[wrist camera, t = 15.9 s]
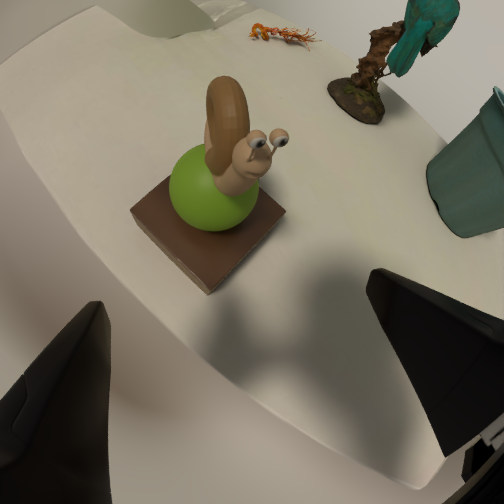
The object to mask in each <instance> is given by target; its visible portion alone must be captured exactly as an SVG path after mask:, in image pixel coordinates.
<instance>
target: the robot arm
mask: <svg viewBox="0 0 504 504" xmlns="http://www.w3.org/2000/svg"><path fill="white" fill-rule="evenodd" d="M366 294H367V296H368V299H369V301H370V303H371V305H372V307H373V309H374V311H375V314H376V316H377V318H378V320H379V323H380V325H381V327H382V329H383V330H384V332H385V334H386V336H387V338H388V340H389V341H390V343H391V345H392V347H393V349H394V350H395V352H396V354H397V356H398V358H399V360H400V362H401V364H402V366H403V367H404V369H405V371H406V373H407V375H408V377H409V379H410V381H411V383H412V385H413V387H414V389H415V391H416V393H417V395H418V398H419V400H420V402H421V404H422V406H423V408H424V410H425V412H426V414H427V417H428V419H429V422H430V424H431V426H432V429H433V431H434V433H435V436H436V438H437V440H438V443H439V445H440V448H441V450H442V453H443V455H444V456H445V458H446V457H447V456H449V455H450V454H452V453H453V452H455V451H456V450H458V449H459V448H461V447H462V446H463V445H465V444H466V443H467V442H469V441H470V440H471V439H473V438H474V437H475V436H477V435H478V434H479V435H480V438H478V439H477V440H476V441H475V443H473V445H471V446H470V447H469V448H468V449H467V450H466V451H465V458H464V464H463V470H462V475H461V476H462V478H463V480H464V482H465V484H464V485H463V486H462V487H461V488H460V489H459V490H458V491H456V492H455V493H454V494H453V495H452V496H451V497H449V498H448V499H447V500H446V501H445V502H444V503H442V504H504V320H502V319H499V318H497V317H494V316H492V315H489V314H487V313H484V312H482V311H480V310H477V309H475V308H473V307H471V306H468V305H466V304H464V303H461V302H460V301H457V300H455V299H453V298H451V297H449V296H446V295H444V294H442V293H440V292H437V291H435V290H433V289H430V288H428V287H426V286H424V285H421V284H419V283H417V282H414V281H412V280H410V279H407V278H405V277H403V276H400V275H398V274H396V273H393V272H391V271H388V270H386V269H384V268H378V269H373V270H372V271H371V273H370V276H369V279H368V282H367V286H366ZM110 375H111V324H110V320H109V317H108V315H107V312H106V309H105V307H104V304H103V302H101V301H91V302H89V303H88V304H86V306H84V308H82V309H81V311H80V312H79V313H78V314H77V315H76V316H75V317H74V318H73V319H72V320H71V321H70V322H69V323H68V324H67V325H66V326H65V327H64V328H63V329H62V330H61V331H60V333H58V335H57V336H56V337H55V338H54V339H53V340H52V341H51V342H50V343H49V344H48V345H47V346H46V348H45V349H44V350H43V351H42V352H41V353H40V354H39V355H38V357H37V358H36V359H35V360H34V361H33V362H32V363H31V365H30V366H29V367H28V368H27V369H26V370H25V372H24V375H23V374H22V375H21V376H20V378H19V379H18V380H17V381H16V383H15V384H14V385H13V386H12V387H11V388H10V390H9V391H8V392H7V393H6V394H5V395H4V397H3V398H2V399H1V400H0V504H112V497H111V493H110V492H111V489H110V476H109V459H108V410H109V391H110Z"/></svg>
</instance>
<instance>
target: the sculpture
mask: <svg viewBox="0 0 504 504" xmlns="http://www.w3.org/2000/svg"><path fill="white" fill-rule="evenodd" d="M459 11H460V3H459V1H458V0H408V3H407V8H406V12H405V18H404V21H399V22H397V23H396V22H394V23H393V24H392V26H391V27H382V28H381V29H378V30H373V31H372V32H371V33H369V34H370V35H371V39H370V42H371V46H370V50H369V52H368V53H367V56H366V57H363V58H362V59H359V65H358V66H356V68H358V69H359V70H358V71H359V73H354V74H352V75H351V78H340V79H336V80H334V81H331V82H330V83H329V84H328V91H329V93H330V94H331V95H332V96H333V97H334V98H335V100H336V102H337V104H338V105H340V106H341V107H342V108H343V109H345V110H346V111H347V112H348V113H349V114H351V115H352V116H354V117H355V118H357V119H358V120H360V121H362V122H364V123H378V122H380V121H381V120H382V118H383V115H384V113H385V109H384V105H383V103H382V101H381V99H380V95H379V93H378V92H377V87H378V84H377V81H378V79H379V78H381V77H383V76H387V75H390V74H391V73H395V74H396V76H397V77H401V76H403V75H404V74H406V73H407V72H408V71H409V69H410V68H411V66H412V65H413V63H414V61H415V59H416V57H417V55H418V53H419V51H420V53H421V56H424V55H425V54H427V53H428V52H429V51H430V50H431V49H432V48H434V47H437V44H438V43H439V42H440V41H441V40H442V39H444V37H445V36H446V35H447V34H448V33H449V31H450V30H451V29H452V27H453V25H454V23H455V21H456V19H457V17H458V15H459ZM395 43H397V44H396V46H395V47H394V48H393V50H392V51H391V52H390V54H389V56H388V58H387V60H386V61H387V62H386V63H385V57H386V55H387V54H388V53H389V50H390V48H391V46H392V45H394V44H395ZM420 49H421V50H420ZM387 64H388V66H389V69H390V73H388V74H386V75H384V74H383V70H384V69H385V67H386V66H387ZM381 67H382V68H381ZM380 68H381V69H380ZM379 69H380V70H379ZM376 72H377V73H376ZM380 74H381V75H380ZM374 76H375V78H376V77H377V79H375V78H374ZM374 81H375V83H374Z"/></svg>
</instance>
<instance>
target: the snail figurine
mask: <svg viewBox="0 0 504 504" xmlns="http://www.w3.org/2000/svg"><path fill="white" fill-rule="evenodd" d="M206 111H207V121H206V125H205V134H204V143H205V144H201V145H198V146H196V147H194V148H192V149H190V150H189V151H187V152H186V153H185V154H184V155H183V156H182V157H181V158H180V159H179V160H178V162H177V163H176V165H175V167H174V168H173V171H172V173H171V177H170V182H169V193H170V199H171V202H172V205H173V207H174V209H175V210H176V212H177V213H178V215H179V216H180V217H181V218H182V219H183V220H184V221H185V222H186V223H188V224H189V225H191V226H193V227H195V228H197V229H200V230H204V231H222V230H226V229H229V228H232V227H234V226H236V225H237V224H239V223H240V222H242V221H243V220H244V219H245V218H246V217H247V216H248V215H249V214H250V212H251V211H252V209H253V207H254V205H255V203H256V201H257V197H258V192H259V180H258V178H260V177H262V176H263V175H264V174H265V173H266V172H267V171H268V170H269V168H270V166H271V163H272V155H273V154H274V152H275V150H276V149H277V147H283V146H285V145H286V144H287V143H288V140H289V135H288V133H287V132H286V131H285V130H283V129H275V130H273V131H272V132H271V133H270V136H269V140H270V142H271V144H272V145H273V146H274V149H273V151H272V152H271V150H270V148H269V146H268V145H267V143H266V140H267V139H266V135H265V134H264V133H263V132H262V131H260V130H253V131H251V132H250V120H249V112H248V106H247V101H246V97H245V94H244V92H243V90H242V88H241V86H240V85H239V83H238V82H237V81H236V80H235V79H233V78H231V77H229V76H221V77H217V78H215V79H214V80H213V81H212V82H211V83H210V84H209V86H208V89H207V96H206Z"/></svg>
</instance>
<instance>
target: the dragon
mask: <svg viewBox="0 0 504 504" xmlns="http://www.w3.org/2000/svg"><path fill="white" fill-rule="evenodd" d="M256 28H259V29H260V30H261V35H262V37H263V39H264V40H268V39H269V38H268V37H269V36H268V35H267V34H268V33H267V32H271V35H276V34H277V33H279V35H281V34H282V35H281V36H283V37H284V38H285V37H287V38H288V37H290V36H292V37H290V38H291V40H289V39H288V40H287V39H286V38H285V39H286V41H287V43H288V42H289V43H290V41H293V40H292V38H293V37H296V38H297V39H298V40H299V41H300V42H301V41H302V40H303V42H305V41H307V38H309V35H308V36H306V37H307V38H305V35H306V34H307V33H308V32H307V33H306V34H305V35H299V34H298V35H296V34H297V33H296V31H298V30H295V33H292V32H294V31H292V30H291V31H292V32H290V31H289V33H288V32H287V31H288V30H287V31H285V32H287V33H285V32H284V31H283V30H286V29H287V27H286V28H284V29H281V30H282V31H277V30H275V29H278V30H279V28H273V29H272V28H269V27H266V28H265V27H264V26H263V25H262V24H259V23H256V24H254V25H253V27H252V34H251V33H250V34H251V35H250V36H249V37H254V35H255V36H258V33H257V32H256ZM293 29H294V28H293ZM308 31H309V29H308ZM272 32H274V33H272ZM298 32H299V31H298ZM303 32H304V31H303ZM291 34H292V35H291ZM287 35H288V36H287ZM313 35H314V34H313ZM313 35H312V36H313ZM303 36H304V37H303ZM310 37H311V36H310ZM296 38H295V39H296ZM300 39H301V40H300ZM313 39H315V38H313ZM298 40H294V42H295V41H298ZM308 41H309V42H314V41H312V40H308ZM321 41H322V40H321ZM305 43H306V42H305ZM306 45H307V44H306ZM307 46H308V45H307ZM308 48H309V47H308ZM309 51H310V50H309Z"/></svg>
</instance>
